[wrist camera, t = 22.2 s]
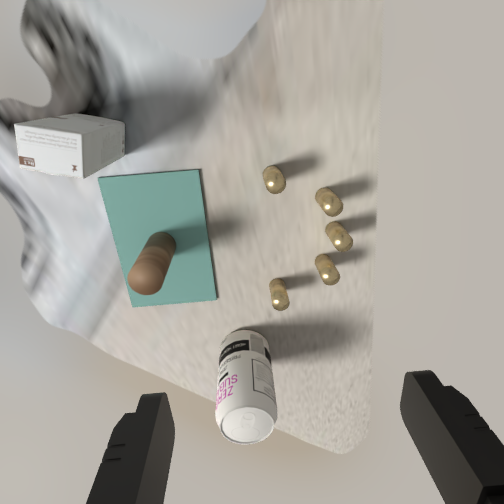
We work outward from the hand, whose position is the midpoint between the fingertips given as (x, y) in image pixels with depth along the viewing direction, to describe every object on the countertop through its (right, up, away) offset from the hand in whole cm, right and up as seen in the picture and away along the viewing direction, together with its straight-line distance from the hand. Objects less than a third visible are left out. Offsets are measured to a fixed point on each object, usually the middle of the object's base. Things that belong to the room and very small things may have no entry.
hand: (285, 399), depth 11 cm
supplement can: (-2, -11, +45) cm, 47 cm away
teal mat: (-14, +6, +36) cm, 39 cm away
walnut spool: (-14, +6, +36) cm, 39 cm away
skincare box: (-20, +19, +30) cm, 41 cm away
